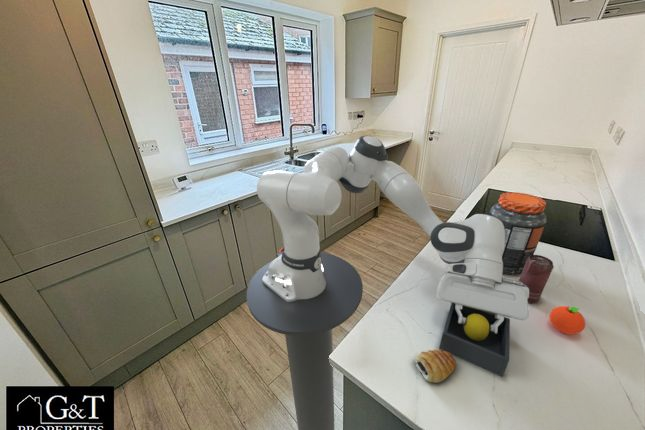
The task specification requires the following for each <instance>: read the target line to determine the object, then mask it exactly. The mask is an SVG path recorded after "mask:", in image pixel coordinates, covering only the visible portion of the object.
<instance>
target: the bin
mask: <svg viewBox="0 0 645 430" xmlns="http://www.w3.org/2000/svg"><path fill="white" fill-rule="evenodd" d="M460 311H461V314H462V316H463V317H465V318H467V317H468V316H469V315H471V314H480V315H482V316H483V317H485V318H486V319H487V321H488V323H489V324H491V325H493V324H494V323H495V322H496V320H497V319H495V314H494V313H490V312H486V311H482V310H478V309H474V308H470V307H466V306H462V309H461V310H460ZM458 319H459V316H458V314H457V312H456V310H455V304H454V303H450V307H449V310H448V313H447V317H446V321H445V325H444V327H443V331H442V335H441V339H440V343H439V348H438V350H442V351H447V352H449V353H451V354H452V355H453V356H455V357H457V358H459V359H461V360H464V361H466V362H468V363H470V364H473V365H475V366H477V367H480V368H482V369H484V370H486V371H488V372H490V373H492V374H495V375H496V376H500V377H503V375H504V373H505V370H506V369H507V368H508V367H507V366H508V364H509V362H510V337H511V336H510V335H511V334H510V332H511V330H510V329H511V318H510V317H506V316H504V321H503V322H502V323H501V324H500V325H499V326H498V330H497V334H496V333H492V332H489V334H488V336H487V337H486V338H485V339H484V340H482V341H475V340H472V339H470V338H469V337H468V336H467V335H466V333H465V331H464V325H463V324H459V323H458Z"/></svg>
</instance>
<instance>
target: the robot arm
mask: <svg viewBox="0 0 645 430" xmlns="http://www.w3.org/2000/svg"><path fill="white" fill-rule="evenodd" d="M388 159H389V154H388V152H387V150H386V147H385V145H384V143H383V142H382V141H381V140H380V139H379V138H377V137H374V136H372V135H362V136H360V137H359V138H358V139H357V140H356V141H355V143H354V145H353V148H352V150H351V152H350V154H349V153H348V151H347V150H346V149H345V148H343V147H339V146H334V147H329V148H327V149H324V150H323V151H321V152H320V153H318V154H316V155H315V156H314V157H312V158H311V159H309V160H308V161H307V162H306V163H305V164H304V167H303V170H302V172H298V171H297V172H295V171H288V170H279V169H277V170H271V171H265V172H264V173H262V174H261V175H260V177H259V178H258V181H257V184H256V194H257V197H258V199H259V200H260V202H262V203H263V204H264V205H265V206H266V207H267V208H268V209H269V210H270V212H271V213H272V214H273V216H274V218H275V220H276V222H277V224H278V226H279V228H280V230H281V236H282V241H283V246H282V248H280V249H279V250H278V251H277V252H278V253H276V258H275V259H273V260H271V261H272V262H271V261H270V262H271V264H270V265H269V268H268V271H267V272H266V273H265V274H264V276H263V278H262V282H263V283H264V284H265V285H267V286H268V287H269V288H270V289H272V290H273V291H274V292H275V293H277V294H278V295H279V296H280V297H282V298H283V299H284V300H285V301H287V302H292V301H295V300H300V299H310V298H313V297H316V296H318V295H319V294H321V293H322V292H323V290H324V289H325V287H326V280H325V277H324V274H323V267H322V264H321V260H322V256H321V252H322V246H321V245H320V228H319V226H318V224H317V222H316V221H315V220H314V219H313V218H311V217H310V216H331V215H333V214H334V213H335V212H336V211H337V210H338V209H339V207H340V205H341V203H342V198H343V195H342V194H343V193H342V189H341V186H342V187H343V188H344V189H345V190H346V191H347V192H349V193H352V194H362V193H364V192H365V191H366V190H367V189H368V187H369V186H370V183H371V181H374V182H375V183H376V184H377V186H378V187H379V189H380V191H381V192H382V194H384V196H385V197H386V198H387V199H388V200H389V201H390V202H391V203H392V204H393V205H394V206H395V207H397V208H398V209H399V210H401V211H402V212H403V213H404V214H405V215H407V216H409V218H411V219H412V220H414V221H415V222H416V223H417V224H418V225H419V226H420V227H421V228H422V230H423V231H424V232H425V233H426V234H427V236H429V237H430V243H431V246H432V247H433V249H434V250H435V251H436V252H437V254H438V255H439V258H440V260H441V261H442V262H443V263H445V264H447V265H446V266H445V268H444V274H443V275H442V277H441V278H440V280H439V282H438V286H437V290H436V295H435V296H436V298H437V299H438V300H439V301H442V302H447V303H450V304H451V303H454V304H455V310H456V312H457V314H458V316H459V319H458V323H459V324H463V325H465V324H466V322H465V321H466V318H465V317H463V316H462V314H461V311H460V310H461V309H462V306H466V307H470V308H474V309H478V310H482V311H486V312H490V313H494V314H495V319H497V320H496V322H495V323H494V324H493V325H491V324H489V332H492V333H496V334H497V330H498V326H499V325H500V324H501V323H502V322H503V321H504V317H506V318H509V319H514V320H517V321H526V320H527V319H528V318H529V314H530V313H529V303H528V301H527V299H528V298H529V288H528V287H527V286H526V285H524V284H523V283H522V282H520V281H519V280H514V279H509V278H505V277H503V274H504V273H503V261H502V254H503V252H504V249H505V229H504V225H503V223H502V222H501V221H500V220H499V219H498V218H496V217H494V216H491V215H489V214H486V213H475V214H473V215H471V216H470V217H467V218H464V219H462V220H458V221H452V222H451V221H445V222H443V221H442V220H441V219H440V217H438V215H437V214H436V213H435V212H434V211H433V209H432V208H431V205H430V204H429V202H428V200H427V198H426V195H425V194H424V191H423V189H422V187H421V186H420V185H419V183H418V182H417V180H416V179H415V178H414V177H413V176H412V175H411V173H409V171H407V170H406V169H404V168H403V167H402V166H400V165H399V164H397V163H396V162H394V161H391V160H388ZM338 182H340V183H338ZM340 184H341V186H340ZM522 285H523V286H525V287H523V286H522ZM287 296H288V297H287Z"/></svg>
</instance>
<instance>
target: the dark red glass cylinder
mask: <svg viewBox="0 0 645 430" xmlns="http://www.w3.org/2000/svg"><path fill="white" fill-rule="evenodd" d="M553 269H554V262H553V261H552V260H551V259H550V258H548V257H546V256H544V255H540V254H533V255H531V256H530V257H528V258H527V260H526V263H525V266H524V268H523V271H522V273H520V276H519V278H518V281H520V282H522V283H523V284H524V285H526V286H527V287H528V288H529V298H528V299H527V301H528V304H535V303H537V302H539V301H540V298H541V297H542V294H543V291H544V290H545V288H546V285H547V283H548V281H549V279H550V276H551V274H552V271H553ZM522 286H523V285H522ZM523 287H525V286H523Z"/></svg>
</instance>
